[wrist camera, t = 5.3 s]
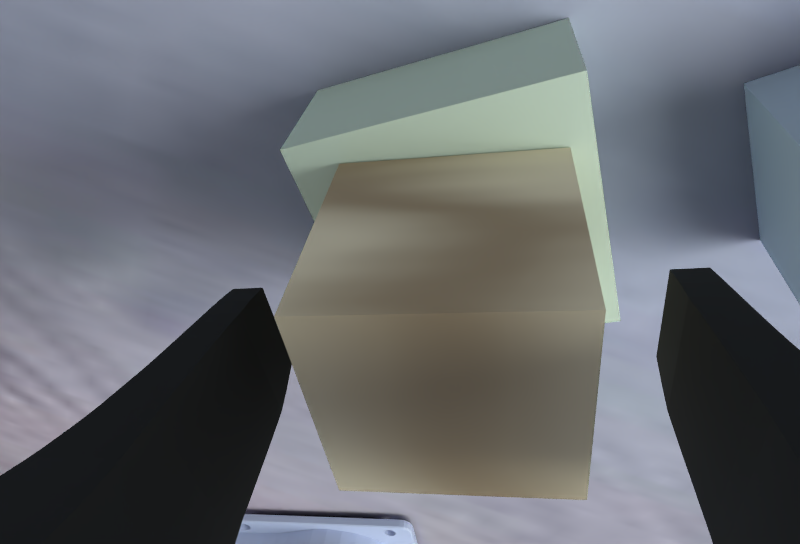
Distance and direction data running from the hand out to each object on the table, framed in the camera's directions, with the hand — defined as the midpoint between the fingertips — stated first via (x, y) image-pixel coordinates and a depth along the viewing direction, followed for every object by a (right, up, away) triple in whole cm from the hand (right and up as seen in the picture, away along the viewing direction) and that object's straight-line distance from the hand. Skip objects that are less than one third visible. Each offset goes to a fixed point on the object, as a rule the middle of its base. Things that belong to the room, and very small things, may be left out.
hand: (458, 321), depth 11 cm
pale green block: (+1, +4, +5) cm, 6 cm away
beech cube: (0, +1, +2) cm, 3 cm away
